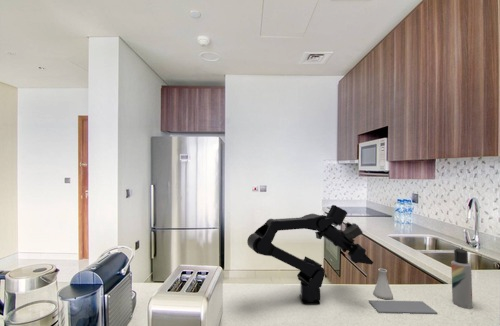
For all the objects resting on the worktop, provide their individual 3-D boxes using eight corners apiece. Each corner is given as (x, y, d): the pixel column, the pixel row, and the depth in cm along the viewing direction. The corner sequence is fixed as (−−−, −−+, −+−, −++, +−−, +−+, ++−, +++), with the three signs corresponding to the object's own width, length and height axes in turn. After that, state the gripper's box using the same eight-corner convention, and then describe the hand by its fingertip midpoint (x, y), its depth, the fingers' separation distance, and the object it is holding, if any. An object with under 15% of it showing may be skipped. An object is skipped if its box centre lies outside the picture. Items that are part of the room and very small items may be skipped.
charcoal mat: (378, 313, 87) (378, 311, 87) (368, 301, 95) (368, 300, 95) (437, 314, 86) (437, 312, 86) (422, 302, 94) (422, 301, 94)
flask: (396, 301, 95) (395, 274, 96) (375, 299, 97) (375, 272, 97) (389, 292, 103) (389, 267, 103) (370, 290, 104) (370, 265, 104)
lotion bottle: (468, 302, 95) (466, 248, 96) (475, 309, 90) (473, 252, 90) (449, 299, 97) (448, 246, 98) (456, 306, 91) (454, 250, 92)
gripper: (355, 225, 90) (391, 251, 89) (339, 213, 108) (369, 234, 108) (337, 250, 90) (373, 276, 90) (324, 234, 109) (354, 255, 109)
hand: (367, 258), depth 99 cm, fingers open, 9 cm apart
